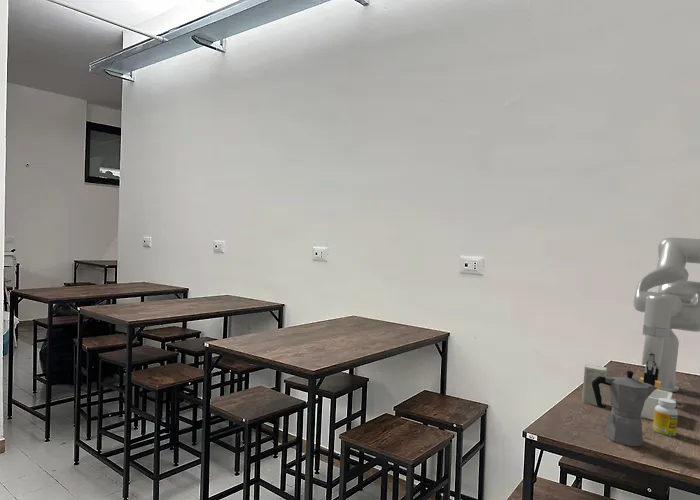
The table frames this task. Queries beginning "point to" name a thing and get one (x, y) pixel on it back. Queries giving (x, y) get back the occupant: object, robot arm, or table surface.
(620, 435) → the coffeepot
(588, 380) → the skincare box
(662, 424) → the supplement bottle
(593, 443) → the table surface
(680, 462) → the table surface
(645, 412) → the tub
